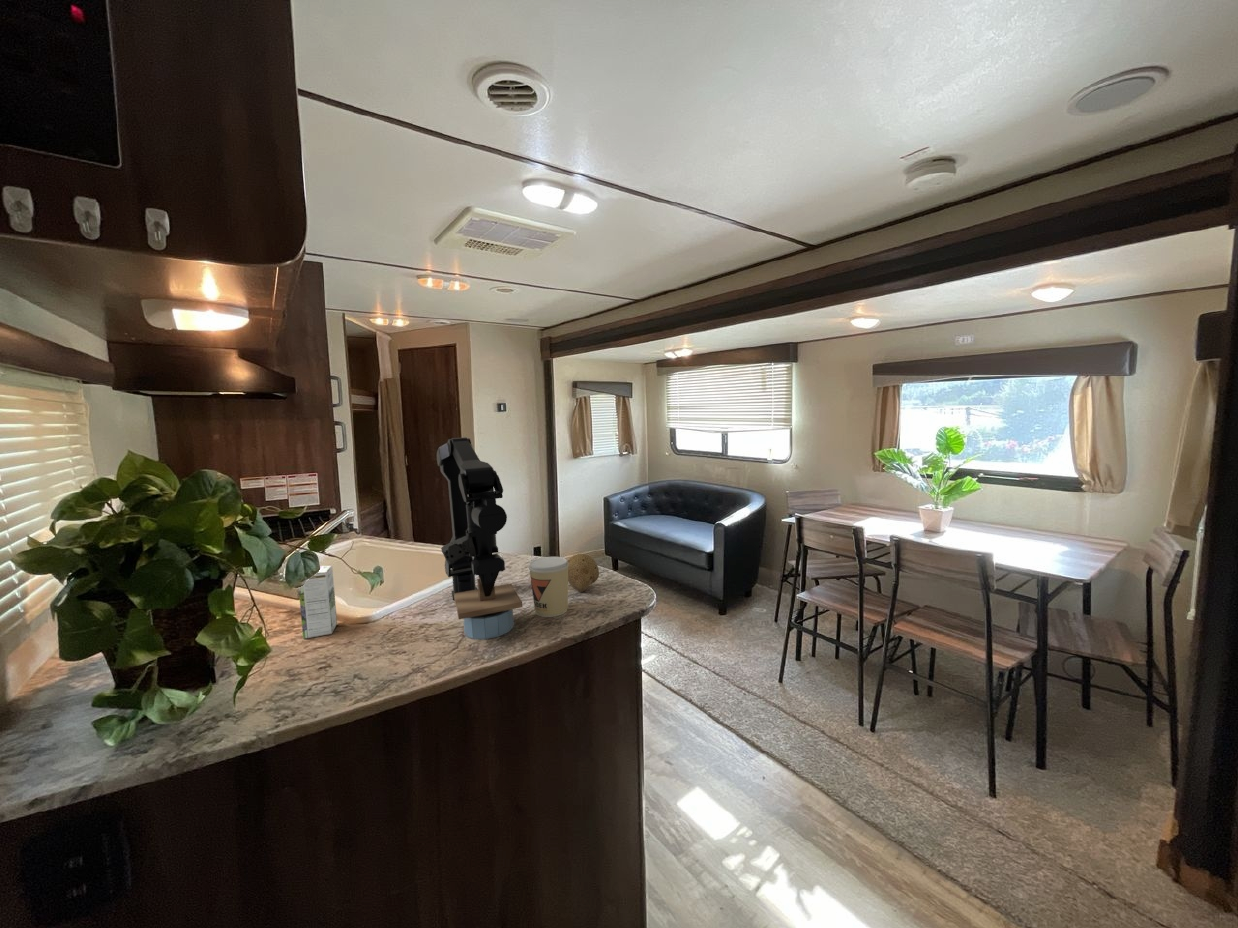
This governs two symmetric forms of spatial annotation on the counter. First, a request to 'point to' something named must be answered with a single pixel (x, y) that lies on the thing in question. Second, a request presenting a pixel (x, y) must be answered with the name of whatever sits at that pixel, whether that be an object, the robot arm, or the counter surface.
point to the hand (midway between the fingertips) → (486, 593)
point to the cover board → (486, 601)
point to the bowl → (489, 625)
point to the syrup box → (318, 604)
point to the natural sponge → (582, 571)
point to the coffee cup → (549, 585)
